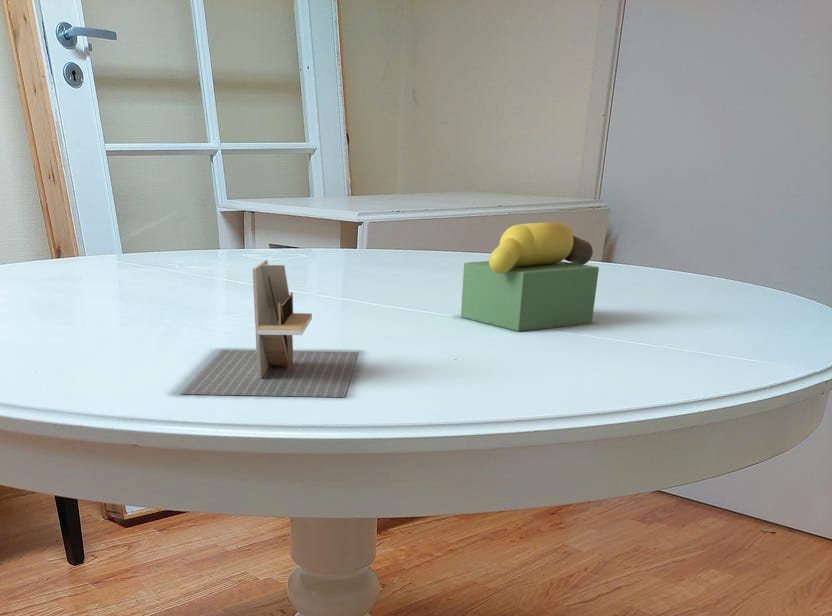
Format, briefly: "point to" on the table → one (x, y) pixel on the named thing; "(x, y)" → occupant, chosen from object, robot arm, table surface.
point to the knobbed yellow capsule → (538, 247)
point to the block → (529, 295)
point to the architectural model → (275, 352)
